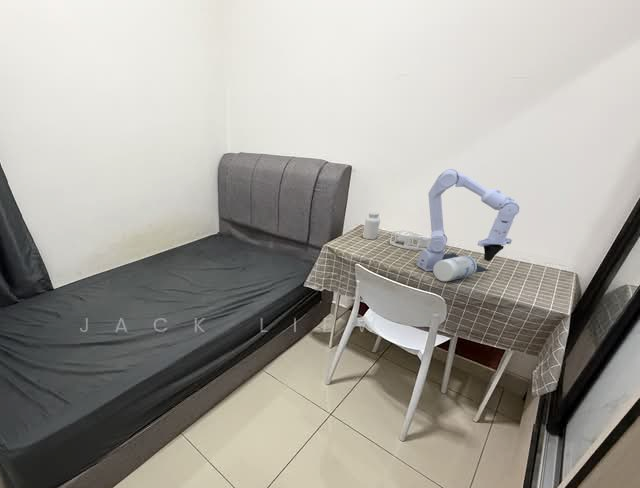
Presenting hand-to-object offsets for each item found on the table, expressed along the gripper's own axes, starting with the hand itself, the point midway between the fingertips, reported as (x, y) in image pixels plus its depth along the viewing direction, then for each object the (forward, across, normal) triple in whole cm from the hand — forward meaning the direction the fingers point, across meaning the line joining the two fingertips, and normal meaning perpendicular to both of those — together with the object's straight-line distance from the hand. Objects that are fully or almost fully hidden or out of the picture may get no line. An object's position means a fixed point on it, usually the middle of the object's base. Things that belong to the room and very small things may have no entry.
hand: (487, 260), depth 131 cm
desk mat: (+8, +1, +15) cm, 17 cm away
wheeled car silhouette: (+9, -6, +40) cm, 41 cm away
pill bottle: (+9, -20, +58) cm, 62 cm away
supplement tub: (+3, -5, +3) cm, 7 cm away
